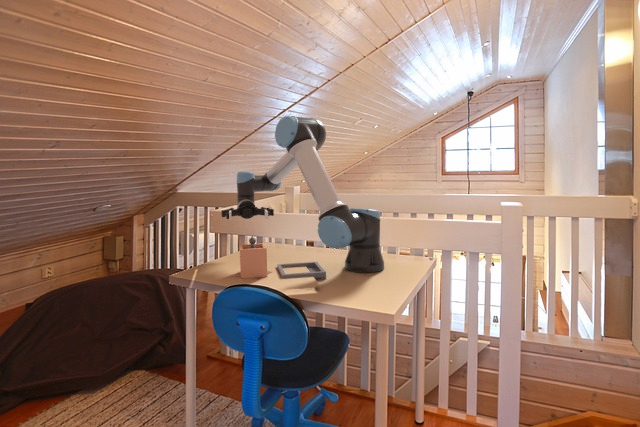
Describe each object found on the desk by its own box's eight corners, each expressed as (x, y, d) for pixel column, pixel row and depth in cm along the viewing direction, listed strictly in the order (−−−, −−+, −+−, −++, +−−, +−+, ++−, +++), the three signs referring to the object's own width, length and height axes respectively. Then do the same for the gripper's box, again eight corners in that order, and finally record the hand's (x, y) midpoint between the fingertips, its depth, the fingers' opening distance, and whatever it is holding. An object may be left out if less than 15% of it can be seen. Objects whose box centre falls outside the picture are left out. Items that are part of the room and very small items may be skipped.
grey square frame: (317, 267, 154) (316, 261, 154) (326, 278, 139) (326, 272, 139) (277, 270, 151) (277, 264, 151) (282, 282, 136) (282, 275, 136)
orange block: (265, 269, 147) (264, 243, 145) (267, 276, 138) (266, 248, 137) (240, 271, 145) (239, 244, 144) (241, 278, 136) (239, 249, 135)
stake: (273, 275, 144) (271, 235, 142) (258, 283, 135) (257, 241, 133) (249, 273, 148) (248, 234, 146) (233, 280, 139) (232, 239, 137)
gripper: (276, 216, 173) (282, 224, 152) (217, 218, 167) (214, 226, 147) (275, 199, 172) (281, 204, 151) (216, 200, 166) (214, 206, 146)
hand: (248, 215), depth 149 cm, fingers open, 13 cm apart
